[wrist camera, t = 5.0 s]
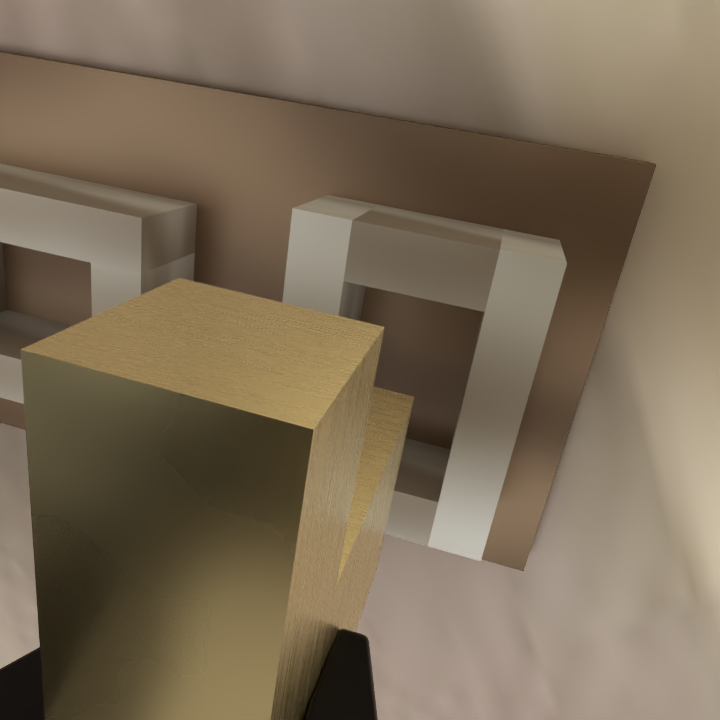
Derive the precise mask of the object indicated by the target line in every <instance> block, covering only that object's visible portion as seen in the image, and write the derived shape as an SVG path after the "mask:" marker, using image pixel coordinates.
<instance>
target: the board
mask: <svg viewBox="0 0 720 720" xmlns="http://www.w3.org/2000/svg"><path fill="white" fill-rule="evenodd" d="M655 167H656V164H652V163H649V162H644V161H638V160H632V159H627V158H621V157H615V156H609V155H603V154H597V153H591V152H586V151H580V150H574V149H568V148H562V147H556V146H550V145H545V144H539V143H533V142H527V141H521V140H515V139H509V138H504V137H498V136H492V135H486V134H480V133H474V132H468V131H463V130H457V129H451V128H445V127H439V126H433V125H427V124H422V123H416V122H410V121H404V120H398V119H392V118H386V117H381V116H375V115H369V114H363V113H357V112H351V111H345V110H340V109H334V108H328V107H322V106H316V105H310V104H304V103H299V102H293V101H287V100H281V99H275V98H269V97H263V96H258V95H252V94H246V93H240V92H234V91H228V90H222V89H217V88H211V87H205V86H199V85H193V84H187V83H181V82H176V81H170V80H164V79H158V78H152V77H146V76H140V75H135V74H129V73H123V72H117V71H111V70H105V69H100V68H94V67H88V66H82V65H76V64H70V63H64V62H59V61H53V60H47V59H41V58H35V57H29V56H23V55H18V54H12V53H6V52H0V423H4V424H7V425H11V426H14V427H18V428H21V429H25V430H26V425H25V409H24V394H23V379H22V364H21V349H23V348H25V347H27V346H29V345H32V344H34V343H36V342H38V341H40V340H43V339H45V338H47V337H49V336H51V335H54V334H56V333H58V332H60V331H63V330H65V329H67V328H69V327H71V326H74V325H76V324H78V323H80V322H82V321H85V320H87V319H89V318H91V317H93V316H96V315H98V314H100V313H102V312H104V311H107V310H109V309H111V308H113V307H115V306H118V305H120V304H122V303H124V302H127V301H129V300H131V299H133V298H135V297H138V296H140V295H142V294H144V293H146V292H149V291H151V290H153V289H155V288H157V287H160V286H162V285H164V284H166V283H168V282H171V281H173V280H175V279H177V278H182V279H186V280H191V281H195V282H199V283H203V284H207V285H212V286H216V287H220V288H224V289H228V290H232V291H237V292H241V293H245V294H249V295H253V296H258V297H262V298H266V299H270V300H274V301H278V302H283V303H287V304H291V305H295V306H299V307H304V308H308V309H312V310H316V311H320V312H324V313H329V314H333V315H337V316H341V317H345V318H350V319H354V320H358V321H362V322H366V323H371V324H375V325H379V326H383V327H385V328H384V333H383V339H382V344H381V349H380V355H379V360H378V365H377V371H376V376H375V381H374V387H377V388H381V389H385V390H389V391H393V392H397V393H401V394H405V395H409V396H413V397H414V400H413V405H412V410H411V414H410V419H409V423H408V428H407V433H406V437H405V442H404V446H403V451H402V456H401V460H400V465H399V469H398V474H397V479H396V483H395V488H394V492H393V497H392V502H391V506H390V511H389V515H388V520H387V525H386V529H385V534H386V535H390V536H393V537H397V538H400V539H404V540H407V541H411V542H414V543H418V544H421V545H425V546H428V547H432V548H435V549H439V550H442V551H446V552H449V553H453V554H456V555H460V556H463V557H467V558H470V559H474V560H477V561H481V559H483V560H486V561H490V562H493V563H497V564H500V565H504V566H507V567H511V568H514V569H518V570H521V571H524V568H525V565H526V561H527V558H528V555H529V552H530V549H531V546H532V543H533V540H534V537H535V534H536V531H537V528H538V525H539V522H540V519H541V516H542V513H543V509H544V506H545V503H546V500H547V497H548V494H549V491H550V488H551V485H552V482H553V479H554V476H555V473H556V470H557V467H558V464H559V461H560V457H561V454H562V451H563V448H564V445H565V442H566V439H567V436H568V433H569V430H570V427H571V424H572V421H573V418H574V415H575V412H576V409H577V405H578V402H579V399H580V396H581V393H582V390H583V387H584V384H585V381H586V378H587V375H588V372H589V369H590V366H591V363H592V360H593V356H594V353H595V350H596V347H597V344H598V341H599V338H600V335H601V332H602V329H603V326H604V323H605V320H606V317H607V314H608V311H609V308H610V304H611V301H612V298H613V295H614V292H615V289H616V286H617V283H618V280H619V277H620V274H621V271H622V268H623V265H624V262H625V259H626V256H627V252H628V249H629V246H630V243H631V240H632V237H633V234H634V231H635V228H636V225H637V222H638V219H639V216H640V213H641V210H642V207H643V204H644V200H645V197H646V194H647V191H648V188H649V185H650V182H651V179H652V176H653V173H654V170H655Z"/></svg>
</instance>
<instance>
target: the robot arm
mask: <svg viewBox="0 0 720 720" xmlns="http://www.w3.org/2000/svg"><path fill="white" fill-rule="evenodd" d="M0 720H45V716H44V700H43V685H42V670H41V654H40V647H39V648H37V649H36V650H34V651H32V652H30V653H28V654H26V655H25V656H23V657H21V658H19V659H17V660H16V661H14V662H12V663H10V664H8V665H7V666H5V667H3V668H1V669H0ZM304 720H378V719H377V710H376V701H375V692H374V683H373V674H372V665H371V656H370V647H369V641H368V638H367V637H366V636H365V635H363V634H360V633H356V632H353V631H350V630H347V629H344V628H342V629H340V630H339V631H338V632H337V634H336V637H335V639H334V642H333V644H332V646H331V649H330V651H329V654H328V656H327V658H326V661H325V663H324V666H323V668H322V671H321V673H320V676H319V678H318V680H317V683H316V685H315V688H314V690H313V693H312V695H311V698H310V700H309V703H308V706H307V709H306V712H305V716H304Z"/></svg>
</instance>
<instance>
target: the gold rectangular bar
mask: <svg viewBox="0 0 720 720" xmlns="http://www.w3.org/2000/svg"><path fill="white" fill-rule="evenodd" d="M384 328H385V327H383V326H379V325H375V324H371V323H366V322H362V321H358V320H354V319H350V318H345V317H341V316H337V315H333V314H329V313H324V312H320V311H316V310H312V309H308V308H304V307H299V306H295V305H291V304H287V303H283V302H278V301H274V300H270V299H266V298H262V297H258V296H253V295H249V294H245V293H241V292H237V291H232V290H228V289H224V288H220V287H216V286H212V285H207V284H203V283H199V282H195V281H191V280H186V279H182V278H177V279H175V280H173V281H171V282H168V283H166V284H164V285H162V286H160V287H157V288H155V289H153V290H151V291H149V292H146V293H144V294H142V295H140V296H138V297H135V298H133V299H131V300H129V301H127V302H124V303H122V304H120V305H118V306H115V307H113V308H111V309H109V310H107V311H104V312H102V313H100V314H98V315H96V316H93V317H91V318H89V319H87V320H85V321H82V322H80V323H78V324H76V325H74V326H71V327H69V328H67V329H65V330H63V331H60V332H58V333H56V334H54V335H51V336H49V337H47V338H45V339H43V340H40V341H38V342H36V343H34V344H32V345H29V346H27V347H25V348H23V349H21V364H22V379H23V394H24V409H25V425H26V440H27V455H28V471H29V486H30V501H31V517H32V532H33V547H34V562H35V578H36V593H37V608H38V624H39V639H40V654H41V670H42V685H43V700H44V716H45V720H304V716H305V712H306V709H307V706H308V703H309V700H310V698H311V695H312V693H313V690H314V688H315V685H316V683H317V680H318V678H319V676H320V673H321V671H322V668H323V666H324V663H325V661H326V658H327V656H328V654H329V651H330V649H331V646H332V644H333V642H334V639H335V637H336V634H337V632H338V631H339V630H340V629H342V628H344V629H347V630H350V631H353V632H356V629H357V626H358V623H359V620H360V617H361V614H362V611H363V608H364V605H365V602H366V599H367V596H368V593H369V590H370V587H371V585H372V582H373V579H374V576H375V573H376V570H377V566H378V561H379V557H380V552H381V548H382V543H383V538H384V534H385V529H386V525H387V520H388V515H389V511H390V506H391V502H392V497H393V492H394V488H395V483H396V479H397V474H398V469H399V465H400V460H401V456H402V451H403V446H404V442H405V437H406V433H407V428H408V423H409V419H410V414H411V410H412V405H413V400H414V397H413V396H409V395H405V394H401V393H397V392H393V391H389V390H385V389H381V388H377V387H374V381H375V376H376V371H377V365H378V360H379V355H380V349H381V344H382V339H383V333H384Z"/></svg>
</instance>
